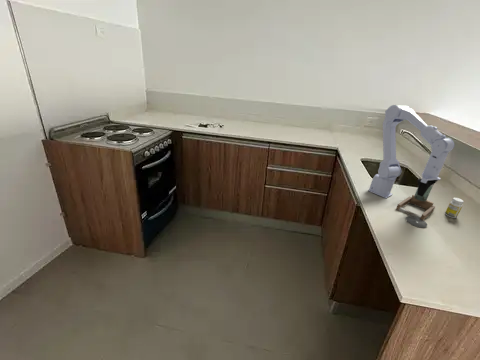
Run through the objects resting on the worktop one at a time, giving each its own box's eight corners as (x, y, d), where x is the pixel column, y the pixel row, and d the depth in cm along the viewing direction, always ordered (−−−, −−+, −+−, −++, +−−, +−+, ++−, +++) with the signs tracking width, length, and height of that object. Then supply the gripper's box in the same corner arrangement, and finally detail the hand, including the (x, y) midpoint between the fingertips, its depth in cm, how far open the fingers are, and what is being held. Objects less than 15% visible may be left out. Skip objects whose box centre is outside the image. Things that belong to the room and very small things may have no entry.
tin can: (412, 197, 124) (418, 181, 121) (415, 194, 128) (422, 179, 124) (424, 202, 121) (431, 186, 118) (428, 199, 124) (435, 183, 121)
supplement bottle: (451, 213, 130) (459, 197, 127) (459, 218, 126) (467, 202, 122) (442, 212, 130) (449, 196, 126) (449, 217, 125) (457, 201, 122)
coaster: (402, 220, 118) (403, 219, 118) (409, 215, 123) (410, 214, 123) (423, 230, 113) (423, 228, 113) (429, 224, 118) (429, 222, 118)
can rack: (395, 208, 128) (398, 201, 126) (407, 200, 137) (410, 193, 135) (422, 220, 120) (426, 212, 118) (433, 211, 130) (436, 203, 128)
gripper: (439, 172, 111) (426, 201, 116) (449, 166, 120) (436, 193, 125) (420, 166, 115) (409, 194, 121) (431, 160, 124) (419, 187, 130)
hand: (421, 193), depth 123 cm, fingers closed on tin can, 5 cm apart
